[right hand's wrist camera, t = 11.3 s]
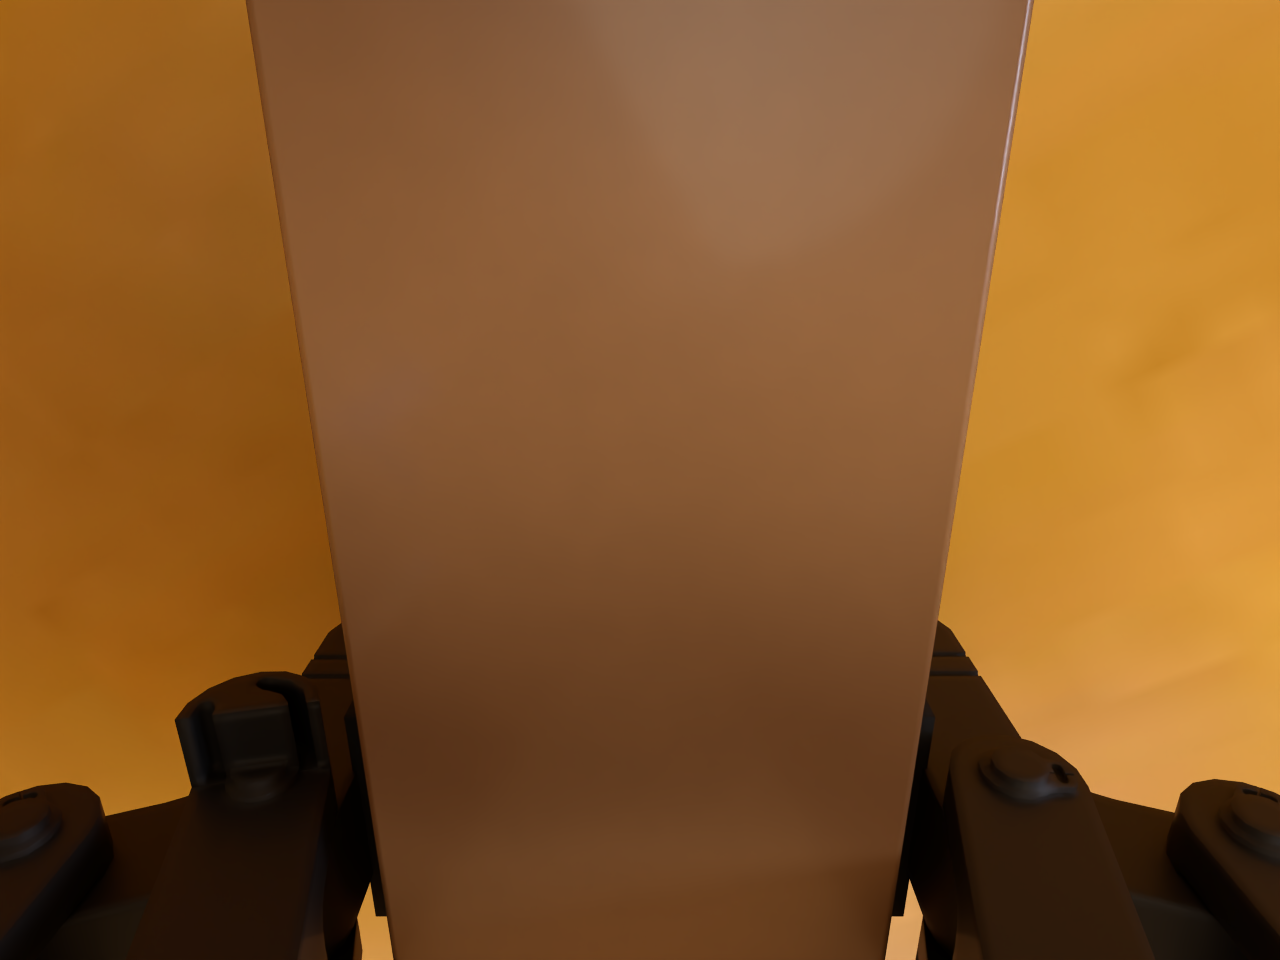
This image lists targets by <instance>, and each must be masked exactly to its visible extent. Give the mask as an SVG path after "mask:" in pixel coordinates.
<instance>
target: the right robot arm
mask: <svg viewBox="0 0 1280 960" xmlns="http://www.w3.org/2000/svg"><path fill="white" fill-rule="evenodd" d="M175 723H176V727H177V731H178V735H179V739H180V743H181V747H182V751H183V755H184V759H185V763H186V766H187V770H188V774H189V778H190V782H191V786H192V789H191V791H190V794H189V796H187V797H183V798H180V799H176V800H173V801H170V802H166V803H162V804H158V805H153V806H149V807H144V808H140V809H135V810H131V811H126V812H122V813H118V814H113V815H109V816H105V813H104V810H103V807H102V804H101V800H100V797H99V796H98V795H97V794H95V793H94V792H93V791H92V790H91V789H90V788H88V787H87V786H82V785H76V784H70V783H59V784H50V785H41V786H36V787H33V788H30V789H26V790H23V791H19V792H16V793H14V794H11V795H8V796H5V797H3V798H1V799H0V960H362V944H361V938H360V931H359V925H358V920H357V916H358V913H359V911H360V908H361V905H362V902H363V900H364V897H365V894H366V892H367V889H368V886H369V883H371V889H372V895H373V901H374V907H375V914H376V916H387V914H386V907H385V901H384V894H383V888H382V881H381V875H380V868H379V862H378V855H377V849H376V842H375V836H374V829H373V823H372V816H371V810H370V803H369V797H368V790H367V784H366V777H365V771H364V764H363V758H362V751H361V745H360V738H359V732H358V725H357V719H356V713H355V706H354V700H353V693H352V687H351V680H350V674H349V667H348V661H347V654H346V648H345V641H344V635H343V628H342V623H341V624H340V625H338V626H337V627H335V628H334V629H333V630H331V631H330V632H329V633H328V634H327V636H326V638H325V639H324V641H323V642H322V644H321V645H320V647H319V648H318V650H317V652H316V653H315V655H314V660H311V661H310V662H309V664H308V665H307V667H306V669H305V670H304V672H303V673H302V676H301V675H297V674H294V673H290V672H286V671H283V672H258V673H254V674H249V675H245V676H240V677H236V678H233V679H230V680H228V681H225V682H223V683H221V684H218V685H216V686H214V687H211V688H209V689H207V690H206V691H204V692H203V693H202V694H200V695H199V696H197V697H196V698H194V699H193V700H192V701H190V702H189V703H187V705H186V706H185V707H184V708H183V710H182V711H181V712H180V714H179V715H178V716H177V718H176V719H175ZM909 879H910V881H911V884H912V887H913V890H914V892H915V895H916V898H917V900H918V903H919V906H920V909H921V911H922V914H923V920H922V925H921V931H920V937H919V943H918V949H917V954H916V960H1280V795H1278V794H1276V793H1274V792H1271V791H1268V790H1266V789H1263V788H1259V787H1257V786H1253V785H1249V784H1246V783H1243V782H1235V781H1227V780H1218V779H1212V780H1206V781H1201V782H1195V783H1192V784H1191V785H1190V786H1189V787H1188V788H1186V789H1185V790H1184V791H1183V792H1182V793H1181V794H1180V797H1179V800H1178V804H1177V807H1176V810H1175V813H1173V812H1169V811H1164V810H1160V809H1155V808H1151V807H1146V806H1142V805H1137V804H1133V803H1128V802H1124V801H1119V800H1115V799H1111V798H1108V797H1105V796H1101V795H1098V794H1094V793H1092V792H1090V790H1089V787H1088V785H1087V784H1086V782H1085V781H1084V779H1083V778H1082V776H1081V775H1080V773H1079V772H1078V770H1077V769H1076V768H1075V767H1073V766H1072V765H1071V764H1070V763H1068V762H1067V761H1066V760H1065V759H1063V758H1062V757H1061V756H1060V755H1058V754H1057V753H1055V752H1053V751H1051V750H1049V749H1047V748H1045V747H1043V746H1041V745H1039V744H1037V743H1035V742H1032V741H1029V740H1025V739H1021V737H1020V736H1019V734H1018V732H1017V731H1016V729H1015V728H1014V726H1013V725H1012V723H1011V722H1010V720H1009V719H1008V717H1007V715H1006V714H1005V712H1004V711H1003V709H1002V708H1001V706H1000V705H999V703H998V702H997V700H996V699H995V697H994V695H993V694H992V692H991V691H990V689H989V688H988V686H987V685H986V683H985V682H984V680H983V679H982V677H981V676H978V671H977V669H976V668H975V666H974V665H973V663H972V662H971V660H970V658H969V657H966V655H965V651H964V649H963V648H962V646H961V645H960V643H959V642H958V640H957V638H956V637H955V635H954V634H953V632H952V631H951V629H949V628H948V627H946V626H945V625H944V624H942V623H941V622H940V621H937V627H936V634H935V640H934V647H933V653H932V660H931V666H930V672H929V679H928V685H927V692H926V698H925V705H924V711H923V717H922V724H921V730H920V737H919V743H918V750H917V756H916V762H915V769H914V775H913V782H912V788H911V795H910V801H909V808H908V814H907V820H906V827H905V833H904V840H903V846H902V853H901V859H900V865H899V872H898V878H897V885H896V891H895V898H894V904H893V910H892V916H903V915H904V909H905V903H906V897H907V890H908V884H909Z"/></svg>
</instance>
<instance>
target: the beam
mask: <svg viewBox="0 0 1280 960" xmlns="http://www.w3.org/2000/svg"><path fill="white" fill-rule="evenodd" d="M1033 3H1034V0H246V5H247V12H248V18H249V25H250V31H251V38H252V44H253V51H254V57H255V64H256V70H257V77H258V83H259V90H260V96H261V103H262V109H263V116H264V122H265V129H266V135H267V142H268V148H269V155H270V161H271V168H272V174H273V181H274V187H275V194H276V200H277V207H278V213H279V220H280V226H281V233H282V239H283V245H284V252H285V258H286V265H287V271H288V278H289V284H290V291H291V297H292V304H293V310H294V317H295V323H296V330H297V336H298V343H299V349H300V356H301V362H302V369H303V375H304V382H305V388H306V395H307V401H308V408H309V414H310V421H311V427H312V434H313V440H314V447H315V453H316V460H317V466H318V473H319V479H320V485H321V492H322V498H323V505H324V511H325V518H326V524H327V531H328V537H329V544H330V550H331V557H332V563H333V570H334V576H335V583H336V589H337V596H338V602H339V609H340V615H341V622H342V628H343V635H344V641H345V648H346V654H347V661H348V667H349V674H350V680H351V687H352V693H353V700H354V706H355V713H356V719H357V725H358V732H359V738H360V745H361V751H362V758H363V764H364V771H365V777H366V784H367V790H368V797H369V803H370V810H371V816H372V823H373V829H374V836H375V842H376V849H377V855H378V862H379V868H380V875H381V881H382V888H383V894H384V901H385V907H386V914H387V920H388V927H389V933H390V940H391V946H392V953H393V959H394V960H885V956H886V949H887V943H888V936H889V930H890V923H891V917H892V910H893V904H894V898H895V891H896V885H897V878H898V872H899V865H900V859H901V853H902V846H903V840H904V833H905V827H906V820H907V814H908V808H909V801H910V795H911V788H912V782H913V775H914V769H915V762H916V756H917V750H918V743H919V737H920V730H921V724H922V717H923V711H924V705H925V698H926V692H927V685H928V679H929V672H930V666H931V660H932V653H933V647H934V640H935V634H936V627H937V621H938V615H939V608H940V602H941V595H942V589H943V582H944V576H945V569H946V563H947V557H948V550H949V544H950V537H951V531H952V524H953V518H954V512H955V505H956V499H957V492H958V486H959V479H960V473H961V467H962V460H963V454H964V447H965V441H966V434H967V428H968V421H969V415H970V409H971V402H972V396H973V389H974V383H975V376H976V370H977V364H978V357H979V351H980V344H981V338H982V331H983V325H984V319H985V312H986V306H987V299H988V293H989V286H990V280H991V273H992V267H993V261H994V254H995V248H996V241H997V235H998V228H999V222H1000V216H1001V209H1002V203H1003V196H1004V190H1005V183H1006V177H1007V171H1008V164H1009V158H1010V151H1011V145H1012V138H1013V132H1014V126H1015V119H1016V113H1017V106H1018V100H1019V93H1020V87H1021V80H1022V74H1023V68H1024V61H1025V55H1026V48H1027V42H1028V35H1029V29H1030V23H1031V16H1032V10H1033Z"/></svg>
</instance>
